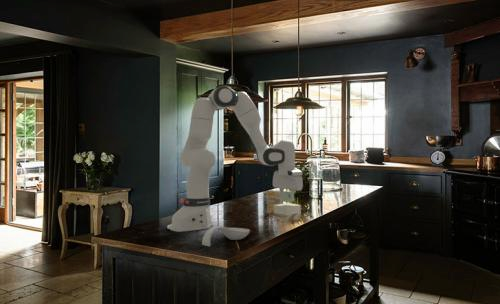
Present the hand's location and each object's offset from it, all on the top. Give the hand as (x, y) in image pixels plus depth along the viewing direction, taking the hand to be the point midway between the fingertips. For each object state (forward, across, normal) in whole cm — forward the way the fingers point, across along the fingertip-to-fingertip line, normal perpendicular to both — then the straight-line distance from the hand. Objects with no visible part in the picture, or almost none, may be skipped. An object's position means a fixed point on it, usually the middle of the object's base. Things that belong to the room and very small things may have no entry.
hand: (287, 197), depth 219 cm
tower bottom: (+12, 0, 0) cm, 12 cm away
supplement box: (+12, -17, +6) cm, 22 cm away
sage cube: (+2, 0, 0) cm, 2 cm away
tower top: (+8, 0, 0) cm, 8 cm away
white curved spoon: (+12, +17, -49) cm, 53 cm away
